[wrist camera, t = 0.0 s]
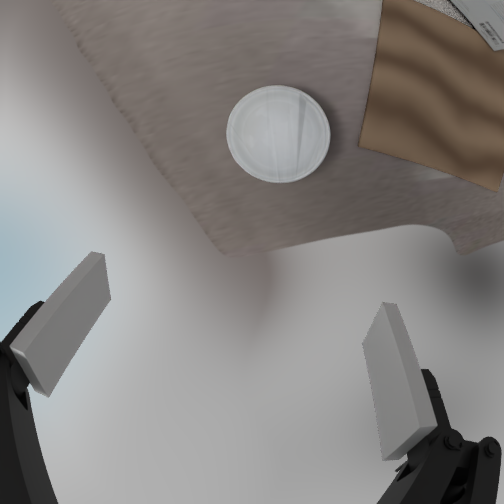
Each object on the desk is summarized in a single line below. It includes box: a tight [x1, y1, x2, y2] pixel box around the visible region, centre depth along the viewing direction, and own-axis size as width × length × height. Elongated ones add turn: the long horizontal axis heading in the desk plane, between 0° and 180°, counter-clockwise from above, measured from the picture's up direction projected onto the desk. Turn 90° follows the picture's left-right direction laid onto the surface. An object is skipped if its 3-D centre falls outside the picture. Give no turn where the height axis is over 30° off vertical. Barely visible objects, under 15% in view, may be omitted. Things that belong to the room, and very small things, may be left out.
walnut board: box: [358, 0, 504, 192], centre depth 30 cm, size 22×24×1 cm
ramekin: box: [226, 85, 330, 183], centre depth 34 cm, size 11×11×5 cm
